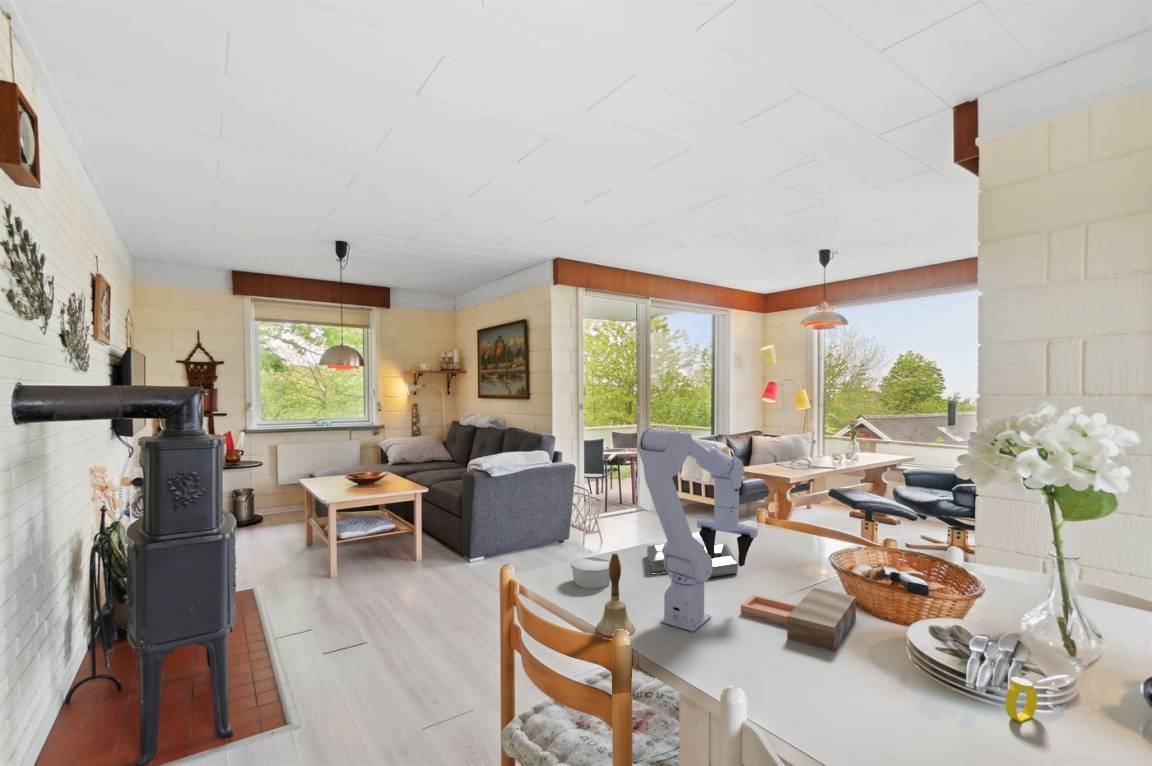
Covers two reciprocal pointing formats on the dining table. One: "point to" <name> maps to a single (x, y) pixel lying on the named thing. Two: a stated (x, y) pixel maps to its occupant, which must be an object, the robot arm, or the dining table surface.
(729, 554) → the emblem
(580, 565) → the ramekin
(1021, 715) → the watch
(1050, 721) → the dining table surface
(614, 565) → the hand bell
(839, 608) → the wooden block
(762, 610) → the shallow pink tray
